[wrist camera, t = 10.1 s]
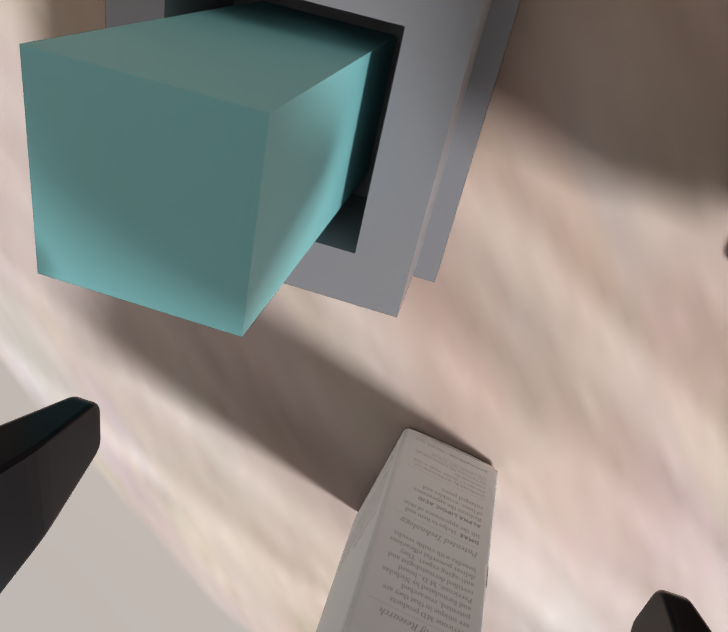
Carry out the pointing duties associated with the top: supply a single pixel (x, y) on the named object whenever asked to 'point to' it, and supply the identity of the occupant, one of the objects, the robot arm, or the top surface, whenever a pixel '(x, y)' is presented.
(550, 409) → the top surface
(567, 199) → the top surface
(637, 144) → the top surface
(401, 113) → the socket block
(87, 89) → the teal peg
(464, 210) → the top surface
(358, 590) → the skincare box
